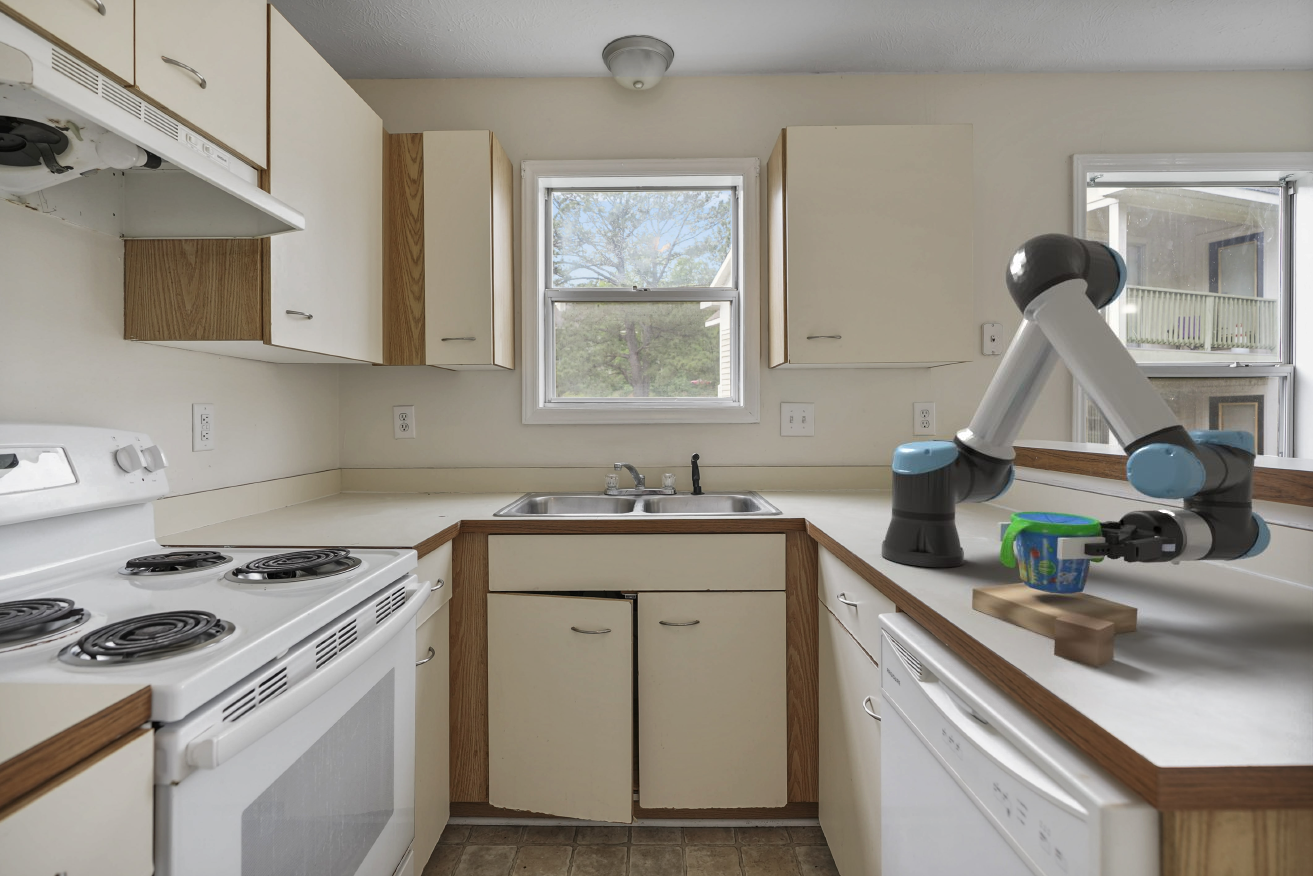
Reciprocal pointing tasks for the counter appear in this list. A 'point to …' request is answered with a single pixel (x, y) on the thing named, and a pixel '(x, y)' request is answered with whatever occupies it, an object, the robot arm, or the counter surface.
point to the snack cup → (1048, 550)
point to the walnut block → (1084, 639)
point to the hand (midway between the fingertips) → (1027, 539)
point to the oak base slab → (1048, 607)
